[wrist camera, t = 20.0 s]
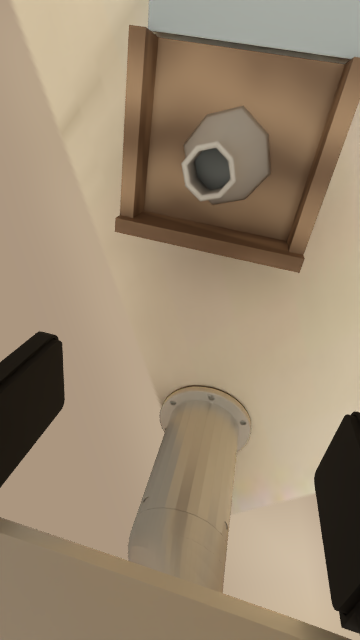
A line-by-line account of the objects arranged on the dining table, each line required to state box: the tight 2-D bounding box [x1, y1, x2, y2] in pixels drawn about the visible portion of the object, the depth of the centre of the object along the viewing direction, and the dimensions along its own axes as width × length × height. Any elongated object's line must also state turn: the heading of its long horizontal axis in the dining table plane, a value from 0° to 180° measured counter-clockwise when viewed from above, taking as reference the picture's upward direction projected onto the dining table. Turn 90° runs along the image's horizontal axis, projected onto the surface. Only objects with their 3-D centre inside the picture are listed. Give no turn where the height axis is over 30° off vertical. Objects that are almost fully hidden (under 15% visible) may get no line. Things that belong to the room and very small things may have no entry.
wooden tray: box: [115, 25, 360, 273], centre depth 27 cm, size 14×16×6 cm
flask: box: [181, 106, 271, 205], centre depth 23 cm, size 7×7×10 cm
